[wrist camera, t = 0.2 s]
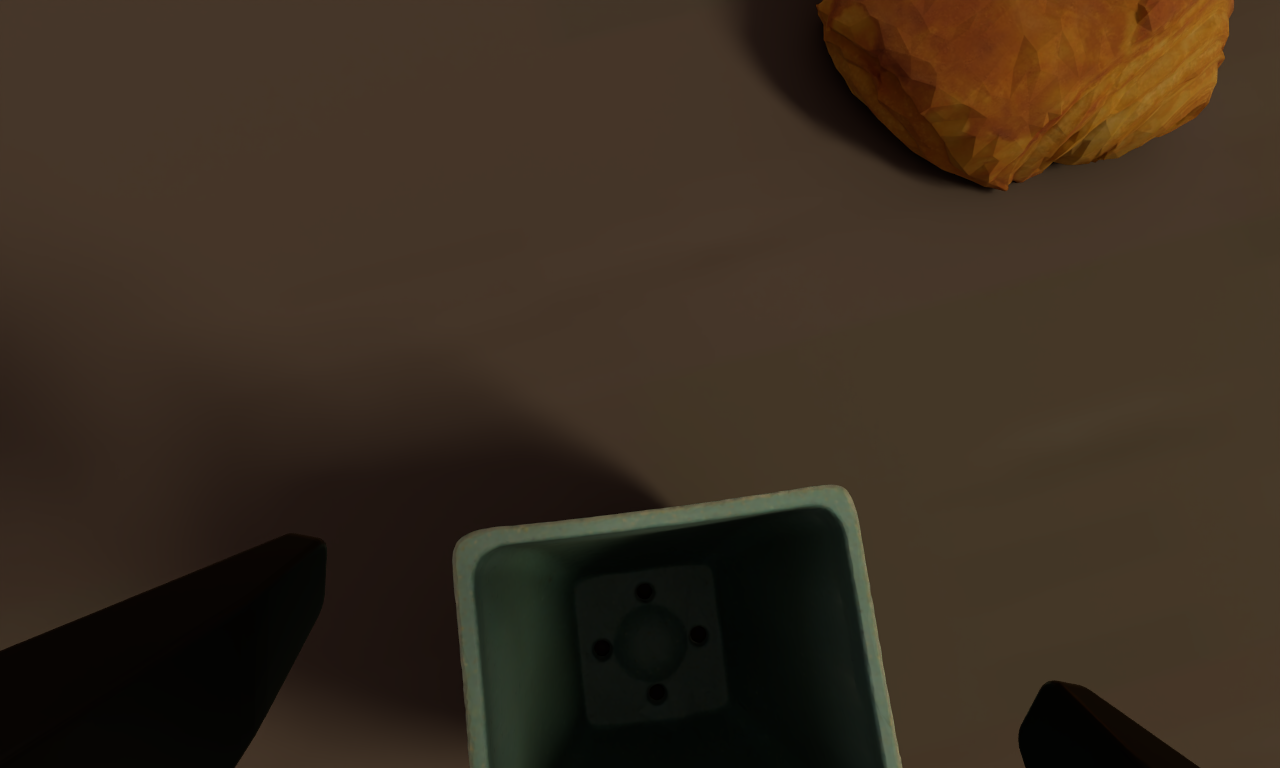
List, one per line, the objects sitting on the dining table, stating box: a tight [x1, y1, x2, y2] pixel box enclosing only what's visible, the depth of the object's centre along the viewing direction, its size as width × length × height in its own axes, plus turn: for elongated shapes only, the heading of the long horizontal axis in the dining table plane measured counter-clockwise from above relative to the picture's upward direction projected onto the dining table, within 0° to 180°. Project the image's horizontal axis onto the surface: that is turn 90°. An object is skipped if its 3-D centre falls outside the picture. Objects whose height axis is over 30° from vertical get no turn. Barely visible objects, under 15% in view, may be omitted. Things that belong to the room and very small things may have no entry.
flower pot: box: [452, 485, 902, 768], centre depth 18 cm, size 9×9×9 cm
